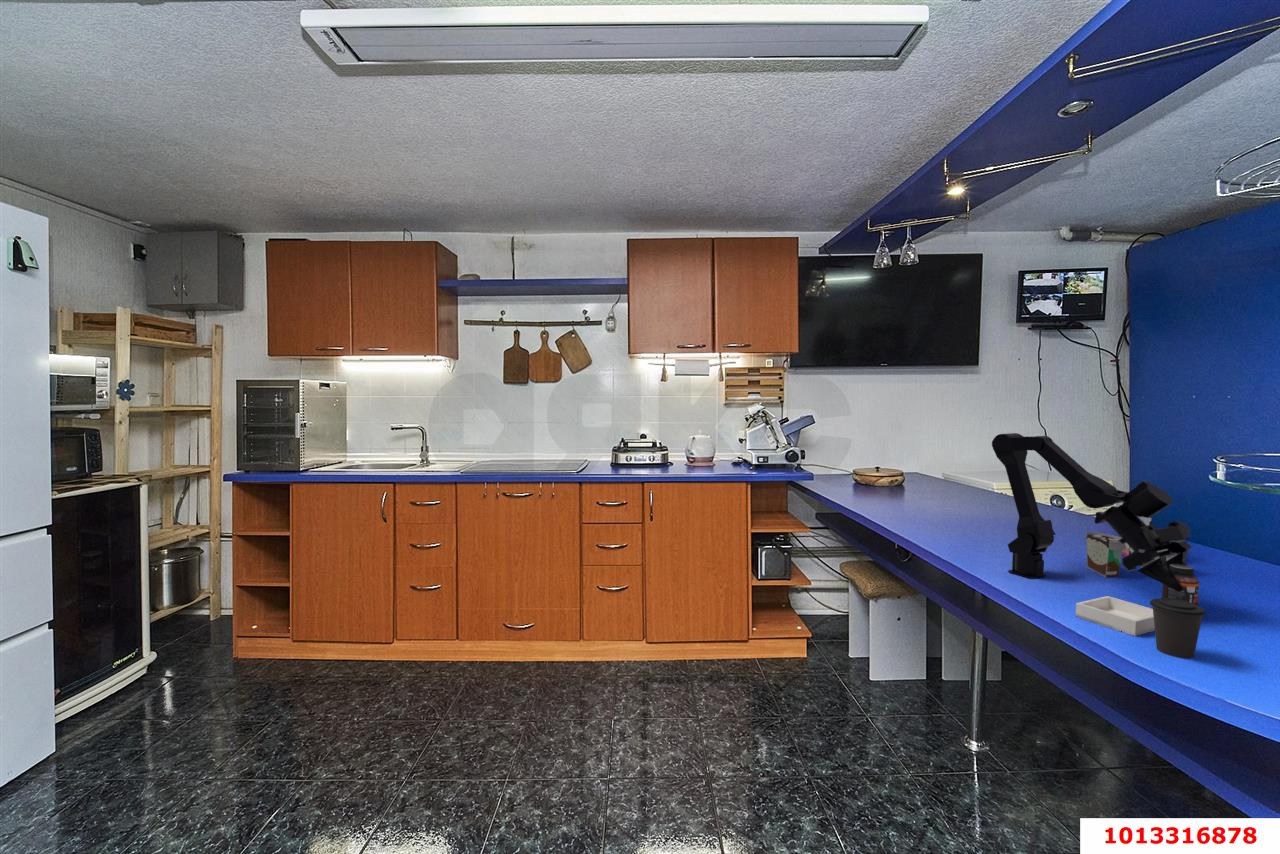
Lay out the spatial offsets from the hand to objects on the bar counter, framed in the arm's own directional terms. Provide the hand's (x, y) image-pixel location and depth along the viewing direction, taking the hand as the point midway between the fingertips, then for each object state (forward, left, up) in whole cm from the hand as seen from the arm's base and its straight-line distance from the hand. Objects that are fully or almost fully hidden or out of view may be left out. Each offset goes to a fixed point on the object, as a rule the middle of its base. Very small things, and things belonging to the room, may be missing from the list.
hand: (1188, 588), depth 129 cm
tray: (-4, -16, -7) cm, 18 cm away
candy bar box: (-32, +43, -7) cm, 54 cm away
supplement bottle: (-1, 0, -7) cm, 7 cm away
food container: (-26, +20, -7) cm, 34 cm away
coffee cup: (+9, -23, -7) cm, 26 cm away
